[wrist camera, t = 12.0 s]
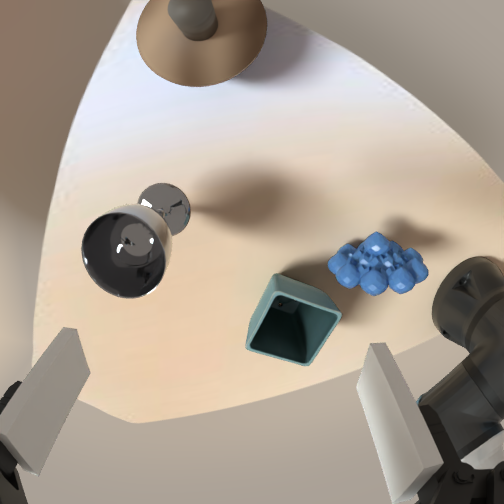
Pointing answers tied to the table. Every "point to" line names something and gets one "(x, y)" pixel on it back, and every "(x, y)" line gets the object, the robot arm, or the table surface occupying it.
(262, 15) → the lid
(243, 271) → the table surface
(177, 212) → the wine glass
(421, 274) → the grapes
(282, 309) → the flower pot
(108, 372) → the table surface
